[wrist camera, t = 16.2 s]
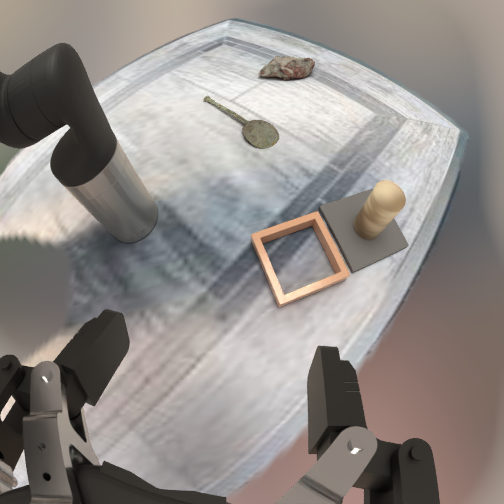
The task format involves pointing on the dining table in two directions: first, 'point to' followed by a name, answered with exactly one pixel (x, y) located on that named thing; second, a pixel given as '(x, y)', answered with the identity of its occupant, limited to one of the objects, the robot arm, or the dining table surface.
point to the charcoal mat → (350, 243)
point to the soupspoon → (254, 129)
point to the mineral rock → (288, 68)
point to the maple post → (379, 209)
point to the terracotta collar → (289, 228)
